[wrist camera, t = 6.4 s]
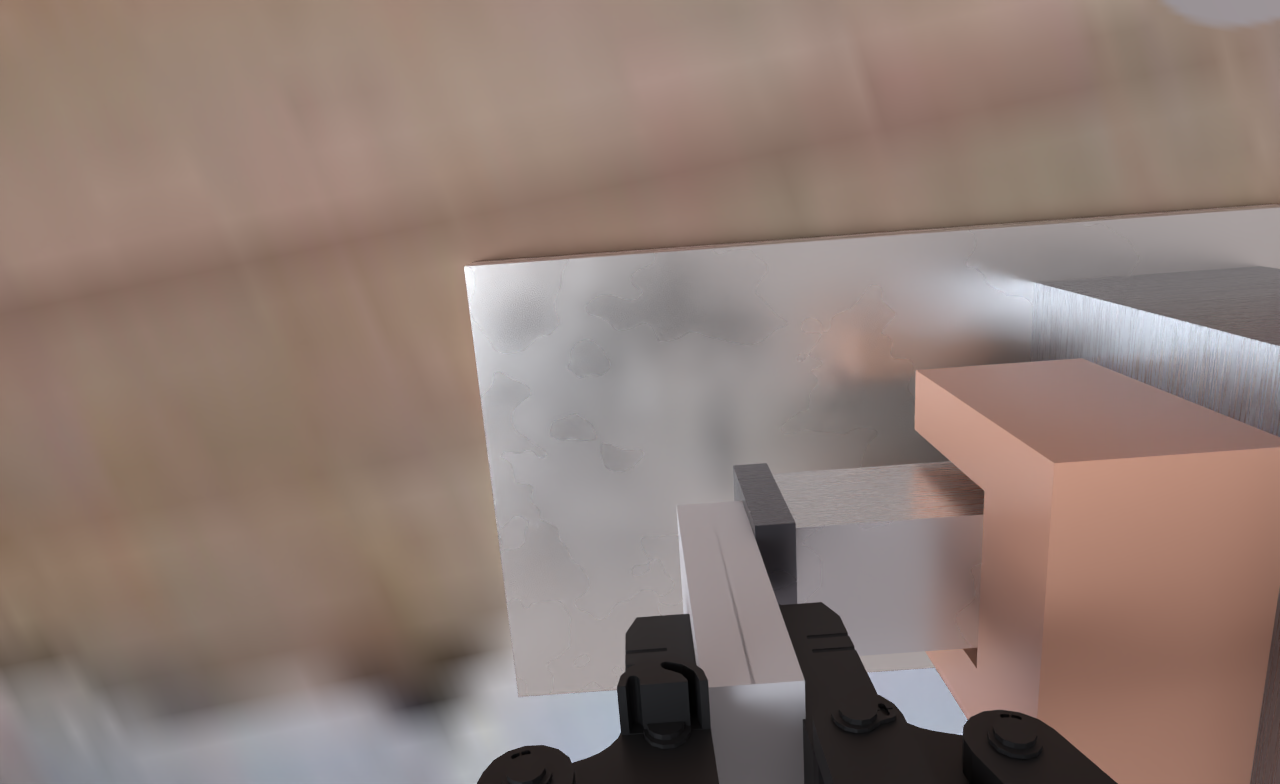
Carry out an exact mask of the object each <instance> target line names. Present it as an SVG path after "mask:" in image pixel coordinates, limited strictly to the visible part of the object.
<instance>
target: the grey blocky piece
mask: <svg viewBox="0 0 1280 784" xmlns="http://www.w3.org/2000/svg"><path fill="white" fill-rule="evenodd" d="M464 270H465V278H466V286H467V293H468V301H469V309H470V317H471V325H472V333H473V341H474V349H475V357H476V365H477V372H478V380H479V388H480V396H481V404H482V412H483V420H484V428H485V436H486V444H487V451H488V459H489V467H490V475H491V483H492V491H493V499H494V507H495V515H496V523H497V530H498V538H499V546H500V554H501V562H502V570H503V578H504V586H505V594H506V602H507V610H508V617H509V625H510V633H511V641H512V649H513V657H514V665H515V673H516V681H517V689H518V696H519V697H523V696H538V695H552V694H566V693H580V692H595V691H609V690H617V685H618V682H619V679H620V676H621V675H622V674H623V673H624V672H625V654H626V653H625V633H626V632H627V630H628V629H629V628H630V626H631V625H632V623H633V622H634V620H635V619H636V617H648V616H662V615H676V614H684V613H683V598H682V583H681V568H680V552H679V537H678V522H677V507H676V505H688V504H701V503H716V502H729V501H734V478H733V466H734V465H748V464H762V463H767V465H768V467H769V469H770V471H771V473H772V474H777V473H791V472H805V471H819V470H833V469H847V468H861V467H875V466H889V465H903V464H917V463H931V462H945V461H950V460H949V459H948V458H946V457H945V456H944V455H943V454H942V453H941V452H940V451H938V450H937V449H936V448H935V447H934V446H933V445H932V444H931V443H929V442H928V441H927V440H926V439H925V438H924V437H923V436H921V435H920V434H919V433H918V432H917V431H916V430H915V380H916V370H924V369H938V368H952V367H965V366H979V365H993V364H1007V363H1021V362H1035V361H1049V360H1063V359H1077V358H1083V359H1085V360H1088V361H1090V362H1093V363H1095V364H1098V365H1100V366H1103V367H1105V368H1108V369H1110V370H1113V371H1115V372H1118V373H1120V374H1123V375H1125V376H1128V377H1130V378H1133V379H1135V380H1138V381H1140V382H1143V383H1145V384H1148V385H1150V386H1153V387H1155V388H1158V389H1160V390H1163V391H1165V392H1168V393H1170V394H1173V395H1175V396H1178V397H1180V398H1183V399H1185V400H1188V401H1190V402H1193V403H1195V404H1198V405H1200V406H1203V407H1205V408H1208V409H1210V410H1213V411H1215V412H1218V413H1220V414H1223V415H1225V416H1228V417H1230V418H1233V419H1235V420H1238V421H1240V422H1243V423H1245V424H1248V425H1250V426H1253V427H1255V428H1258V429H1260V430H1263V431H1265V432H1268V433H1270V434H1273V435H1275V436H1278V437H1280V204H1265V205H1251V206H1237V207H1224V208H1210V209H1196V210H1182V211H1168V212H1155V213H1141V214H1127V215H1113V216H1099V217H1086V218H1072V219H1058V220H1044V221H1030V222H1017V223H1003V224H989V225H975V226H962V227H948V228H934V229H920V230H906V231H893V232H879V233H865V234H851V235H837V236H824V237H810V238H796V239H782V240H768V241H755V242H741V243H727V244H713V245H699V246H686V247H672V248H658V249H644V250H630V251H617V252H603V253H589V254H575V255H561V256H548V257H534V258H520V259H506V260H492V261H479V262H472V263H470V264H468V265H466V266H464ZM859 657H860V659H861V661H862V663H863V665H864V667H865V670H866V672H880V671H894V670H909V669H923V668H935V666H934V665H933V663H932V662H931V660H930V658H929V657H928V655H927V654H926V652H925V651H922V652H908V653H894V654H880V655H865V656H859ZM1250 784H1280V588H1279V595H1278V601H1277V608H1276V614H1275V621H1274V628H1273V634H1272V641H1271V647H1270V654H1269V661H1268V667H1267V674H1266V680H1265V687H1264V694H1263V700H1262V707H1261V713H1260V720H1259V727H1258V733H1257V740H1256V746H1255V753H1254V760H1253V766H1252V773H1251V779H1250Z"/></svg>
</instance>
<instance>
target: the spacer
mask: <svg viewBox="0 0 1280 784" xmlns="http://www.w3.org/2000/svg"><path fill="white" fill-rule="evenodd" d="M915 430H916V431H917V432H918V433H919V434H920V435H921V436H923V437H924V438H925V439H926V440H927V441H928V442H929V443H931V444H932V445H933V446H934V447H935V448H936V449H937V450H938V451H940V452H941V453H942V454H943V455H944V456H945V457H946V458H948V459H949V460H950V461H951V462H952V463H953V464H954V465H955V466H957V467H958V468H959V469H960V470H961V471H962V472H963V473H965V474H966V475H967V476H968V477H969V478H970V479H971V480H972V481H974V482H975V483H976V484H977V485H978V486H979V487H980V488H982V489H983V490H984V514H983V538H982V561H981V583H980V606H979V629H978V648H965V649H951V650H937V651H925V652H926V654H927V655H928V657H929V658H930V660H931V662H932V663H933V665H934V666H935V668H936V670H937V671H938V673H939V674H940V676H941V678H942V679H943V681H944V682H945V684H946V686H947V687H948V689H949V690H950V692H951V694H952V695H953V697H954V698H955V700H956V702H957V703H958V705H959V706H960V708H961V710H962V711H963V713H964V714H965V716H966V718H967V719H968V720H969V718H970V717H972V716H974V715H976V714H978V713H980V712H983V711H991V710H1007V711H1014V712H1020V713H1023V714H1026V715H1029V716H1031V717H1034V718H1037V719H1039V720H1041V721H1042V722H1044V723H1046V724H1047V725H1049V726H1050V727H1052V728H1053V729H1055V730H1056V731H1057V732H1058V733H1059V734H1061V735H1062V736H1063V737H1064V738H1065V739H1066V740H1068V741H1069V742H1070V743H1071V744H1072V745H1073V746H1075V747H1076V748H1077V749H1078V750H1079V751H1080V752H1082V753H1083V754H1084V755H1085V756H1086V757H1087V758H1089V759H1090V760H1091V761H1092V762H1093V763H1094V764H1096V765H1097V766H1098V767H1099V768H1100V769H1101V770H1103V771H1104V772H1105V773H1106V774H1107V775H1108V776H1110V777H1111V778H1112V779H1113V780H1114V781H1115V782H1117V783H1118V784H1250V779H1251V773H1252V766H1253V760H1254V753H1255V746H1256V740H1257V733H1258V727H1259V720H1260V713H1261V707H1262V700H1263V694H1264V687H1265V680H1266V674H1267V667H1268V661H1269V654H1270V647H1271V641H1272V634H1273V628H1274V621H1275V614H1276V608H1277V601H1278V595H1279V588H1280V437H1278V436H1275V435H1273V434H1270V433H1268V432H1265V431H1263V430H1260V429H1258V428H1255V427H1253V426H1250V425H1248V424H1245V423H1243V422H1240V421H1238V420H1235V419H1233V418H1230V417H1228V416H1225V415H1223V414H1220V413H1218V412H1215V411H1213V410H1210V409H1208V408H1205V407H1203V406H1200V405H1198V404H1195V403H1193V402H1190V401H1188V400H1185V399H1183V398H1180V397H1178V396H1175V395H1173V394H1170V393H1168V392H1165V391H1163V390H1160V389H1158V388H1155V387H1153V386H1150V385H1148V384H1145V383H1143V382H1140V381H1138V380H1135V379H1133V378H1130V377H1128V376H1125V375H1123V374H1120V373H1118V372H1115V371H1113V370H1110V369H1108V368H1105V367H1103V366H1100V365H1098V364H1095V363H1093V362H1090V361H1088V360H1085V359H1083V358H1077V359H1063V360H1049V361H1035V362H1021V363H1007V364H993V365H979V366H965V367H952V368H938V369H924V370H916V380H915Z"/></svg>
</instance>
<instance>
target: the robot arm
mask: <svg viewBox="0 0 1280 784" xmlns="http://www.w3.org/2000/svg"><path fill="white" fill-rule="evenodd" d="M676 507H677V522H678V537H679V552H680V568H681V583H682V598H683V613H684V614H676V615H662V616H648V617H636V619H635V620H634V622H633V623H632V625H631V626H630V628H629V629H628V630H627V632H626V633H625V653H626V654H625V672H624V673H623V674H622V675H621V676H620V679H619V682H618V685H617V693H618V704H619V714H620V725H621V734H620V735H619V737H618V739H617V740H616V741H615V742H614V743H613V744H612V745H611V746H609V747H608V748H606V749H605V750H603V751H602V752H600V753H599V754H596V755H594V756H591V757H589V758H587V759H583V760H580V761H577V762H574V763H571V760H570V758H569V757H568V756H567V755H565V754H564V753H563V752H561V751H560V750H559V749H555V748H552V747H548V746H544V745H537V746H524V747H521V748H517V749H514V750H511V751H508V752H506V753H505V754H503V755H502V756H500V757H498V758H497V759H495V760H494V761H493V762H492V763H491V764H490V765H489V766H488V768H487V769H486V770H485V771H484V772H483V774H482V775H481V777H480V779H479V781H478V782H477V784H1118V783H1117V782H1115V781H1114V780H1113V779H1112V778H1111V777H1110V776H1108V775H1107V774H1106V773H1105V772H1104V771H1103V770H1101V769H1100V768H1099V767H1098V766H1097V765H1096V764H1094V763H1093V762H1092V761H1091V760H1090V759H1089V758H1087V757H1086V756H1085V755H1084V754H1083V753H1082V752H1080V751H1079V750H1078V749H1077V748H1076V747H1075V746H1073V745H1072V744H1071V743H1070V742H1069V741H1068V740H1066V739H1065V738H1064V737H1063V736H1062V735H1061V734H1059V733H1058V732H1057V731H1056V730H1055V729H1053V728H1052V727H1050V726H1049V725H1047V724H1046V723H1044V722H1042V721H1041V720H1039V719H1037V718H1034V717H1031V716H1029V715H1026V714H1023V713H1020V712H1014V711H1007V710H991V711H983V712H980V713H978V714H976V715H974V716H972V717H970V718H969V720H968V721H967V722H966V724H965V725H964V727H963V736H962V735H956V734H949V733H943V732H936V731H931V730H927V729H922V728H919V727H916V726H914V725H911V724H908V723H907V722H906V720H905V718H904V716H903V714H902V713H901V712H900V711H899V709H898V708H897V707H896V706H895V705H894V704H893V703H892V702H890V701H888V700H887V699H885V698H883V697H882V696H880V695H877V692H876V690H875V688H874V686H873V684H872V682H871V680H870V678H869V676H868V674H867V672H866V670H865V667H864V665H863V663H862V661H861V659H860V657H859V655H858V653H857V651H856V650H855V648H854V645H853V642H852V640H851V638H850V636H848V632H847V630H846V628H845V626H844V624H843V622H842V620H841V617H840V616H839V615H838V614H837V613H835V612H834V611H833V610H831V609H830V608H829V607H827V606H826V605H825V604H824V603H822V602H815V603H801V604H788V605H778V602H777V600H776V597H775V594H774V591H773V588H772V585H771V582H770V580H769V577H768V574H767V571H766V568H765V565H764V562H763V559H762V557H761V554H760V551H759V548H758V545H757V542H756V539H755V537H754V534H753V531H752V528H751V525H750V522H749V519H748V517H747V514H746V511H745V508H744V505H743V502H742V501H729V502H716V503H701V504H688V505H676Z"/></svg>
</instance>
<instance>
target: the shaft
mask: <svg viewBox="0 0 1280 784" xmlns="http://www.w3.org/2000/svg"><path fill="white" fill-rule="evenodd" d="M733 478H734V501H742V502H743V505H744V508H745V511H746V514H747V517H748V519H749V522H750V525H751V528H752V531H753V534H754V537H755V539H756V542H757V545H758V548H759V551H760V554H761V557H762V559H763V562H764V565H765V568H766V571H767V574H768V577H769V580H770V582H771V585H772V588H773V591H774V594H775V597H776V600H777V602H778V605H788V604H801V603H815V602H822V603H824V604H825V605H826V606H827V607H829V608H830V609H831V610H833V611H834V612H835V613H837V614H838V615H839V616H840V617H841V620H842V622H843V624H844V626H845V628H846V630H847V632H848V636H850V638H851V640H852V642H853V645H854V648H855V650H856V651H857V653H858V655H859V656H865V655H880V654H894V653H908V652H922V651H937V650H951V649H965V648H978V629H979V606H980V583H981V561H982V538H983V514H984V490H983V489H982V488H980V487H979V486H978V485H977V484H976V483H975V482H974V481H972V480H971V479H970V478H969V477H968V476H967V475H966V474H965V473H963V472H962V471H961V470H960V469H959V468H958V467H957V466H955V465H954V464H953V463H952V462H951V461H945V462H931V463H917V464H903V465H889V466H875V467H861V468H847V469H833V470H819V471H805V472H791V473H777V474H772V473H771V471H770V469H769V467H768V465H767V463H762V464H748V465H734V466H733Z"/></svg>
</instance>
